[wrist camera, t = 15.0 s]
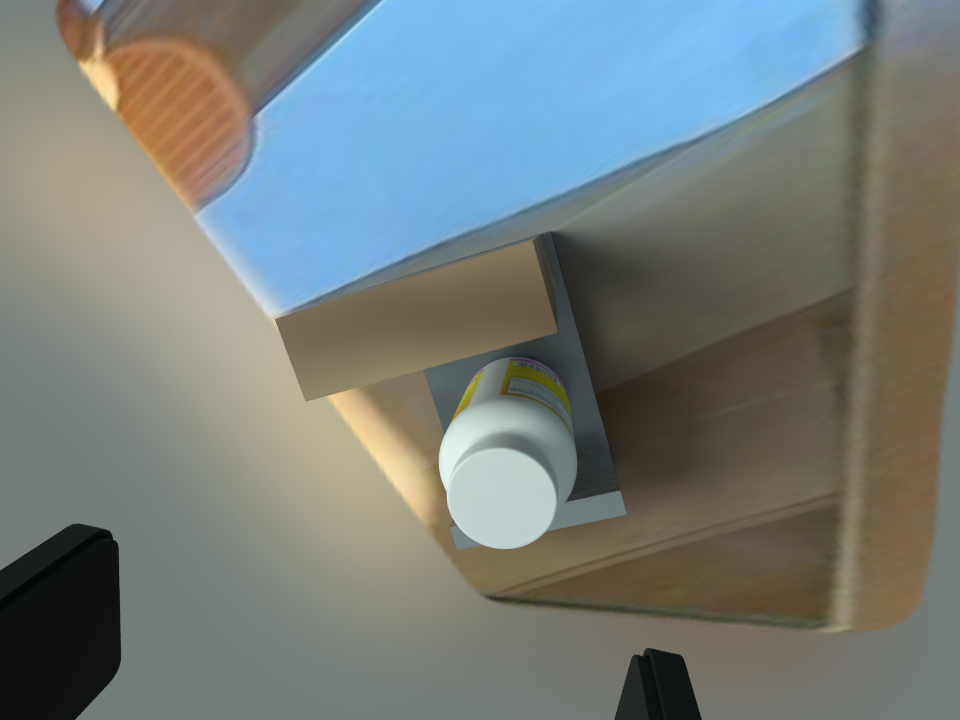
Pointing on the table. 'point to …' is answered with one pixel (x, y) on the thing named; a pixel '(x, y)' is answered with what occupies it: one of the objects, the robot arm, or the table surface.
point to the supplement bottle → (509, 454)
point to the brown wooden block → (423, 319)
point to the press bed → (565, 357)
